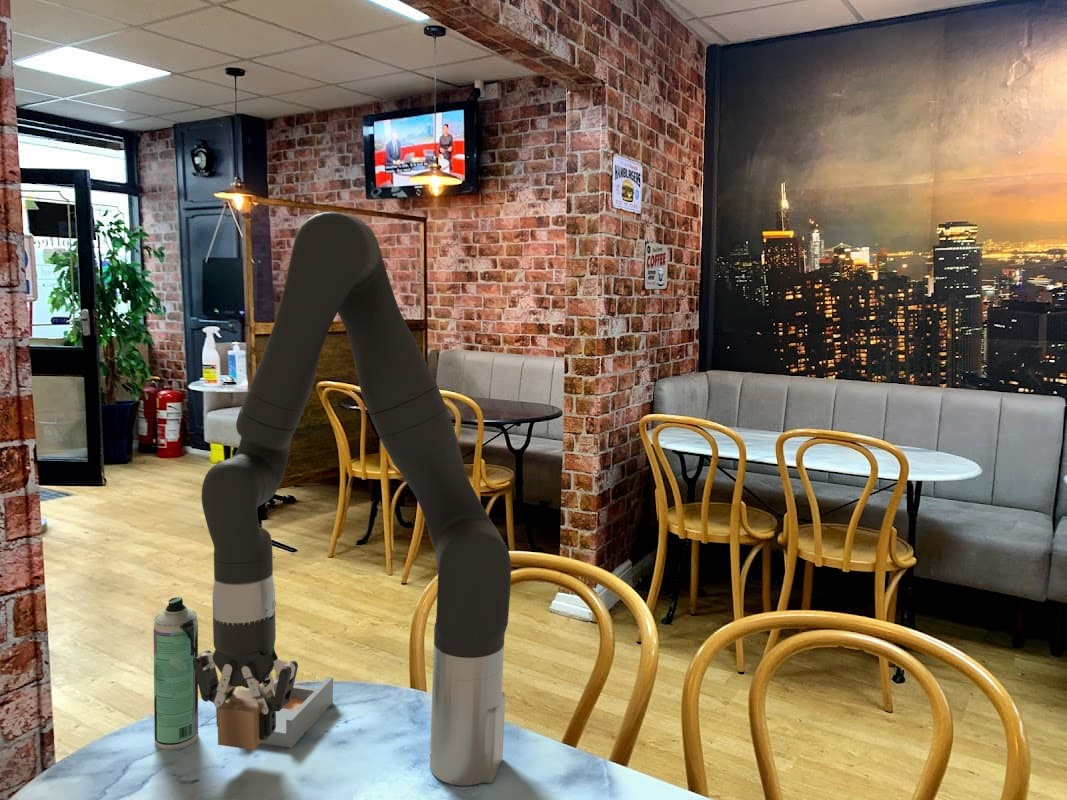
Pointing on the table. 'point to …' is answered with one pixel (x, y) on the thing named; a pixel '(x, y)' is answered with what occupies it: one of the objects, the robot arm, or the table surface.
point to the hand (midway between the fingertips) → (246, 733)
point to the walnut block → (239, 721)
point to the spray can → (175, 676)
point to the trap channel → (300, 712)
